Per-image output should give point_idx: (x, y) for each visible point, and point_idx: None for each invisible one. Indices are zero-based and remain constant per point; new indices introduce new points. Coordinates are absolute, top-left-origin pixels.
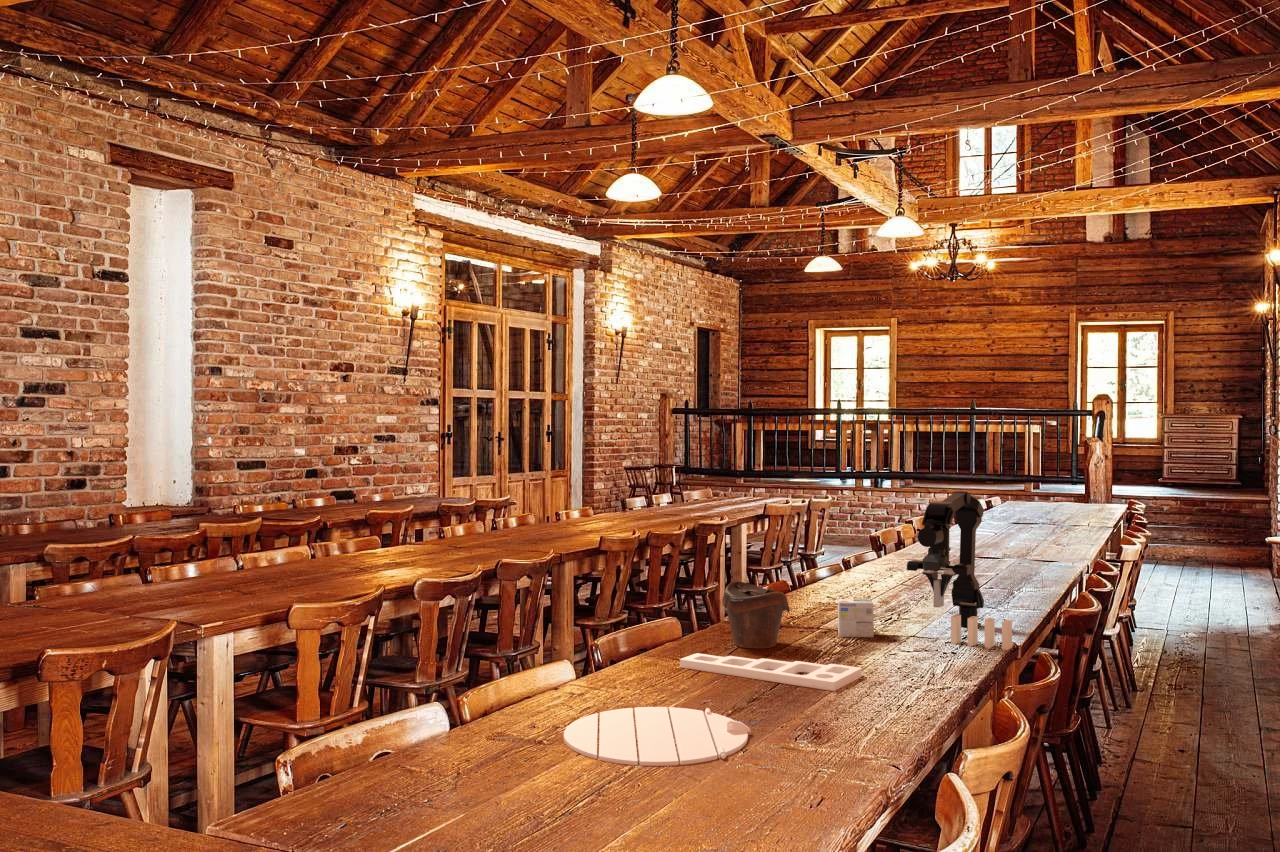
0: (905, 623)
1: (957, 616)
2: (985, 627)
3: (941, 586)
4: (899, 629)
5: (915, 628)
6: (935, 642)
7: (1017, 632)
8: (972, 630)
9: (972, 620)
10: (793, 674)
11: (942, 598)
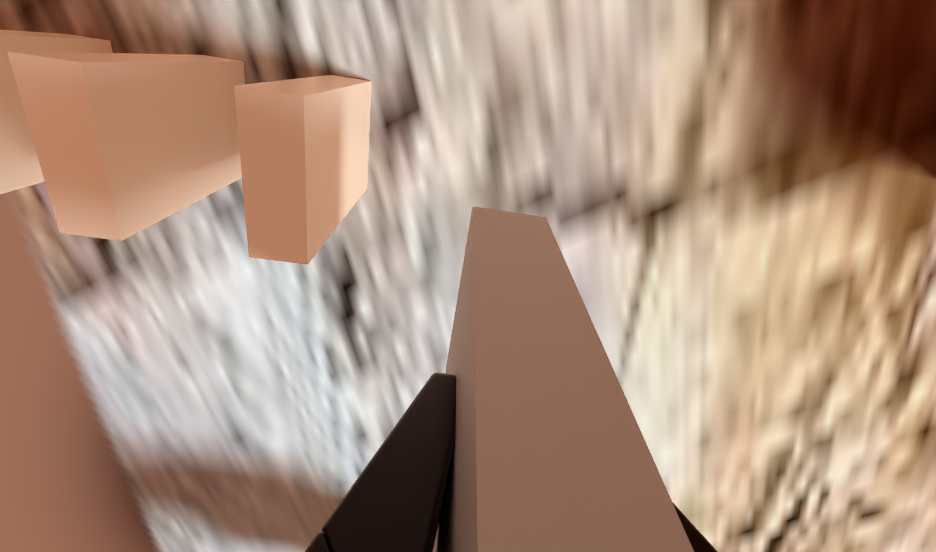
0: (700, 492)
1: (239, 141)
2: None
3: (421, 523)
4: (737, 362)
5: (647, 414)
6: (480, 64)
7: (172, 501)
8: (120, 53)
9: (32, 53)
10: None
11: None
